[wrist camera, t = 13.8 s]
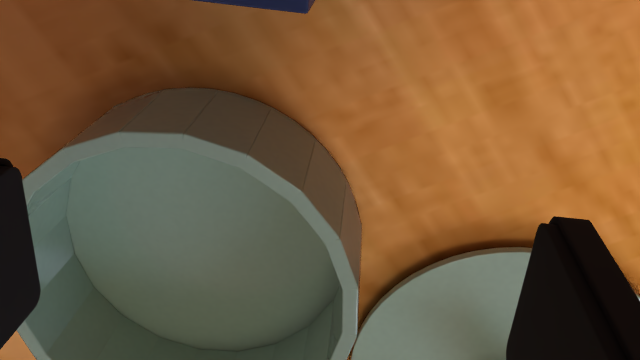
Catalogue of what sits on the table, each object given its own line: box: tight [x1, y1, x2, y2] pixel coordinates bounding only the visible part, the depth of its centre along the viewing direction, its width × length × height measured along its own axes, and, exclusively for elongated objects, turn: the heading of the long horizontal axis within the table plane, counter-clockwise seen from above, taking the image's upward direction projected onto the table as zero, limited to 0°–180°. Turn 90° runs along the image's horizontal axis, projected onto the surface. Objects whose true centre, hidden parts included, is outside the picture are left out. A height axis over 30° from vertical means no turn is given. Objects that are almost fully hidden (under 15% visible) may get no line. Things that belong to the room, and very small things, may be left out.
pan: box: [17, 87, 362, 360], centre depth 29 cm, size 16×16×6 cm
